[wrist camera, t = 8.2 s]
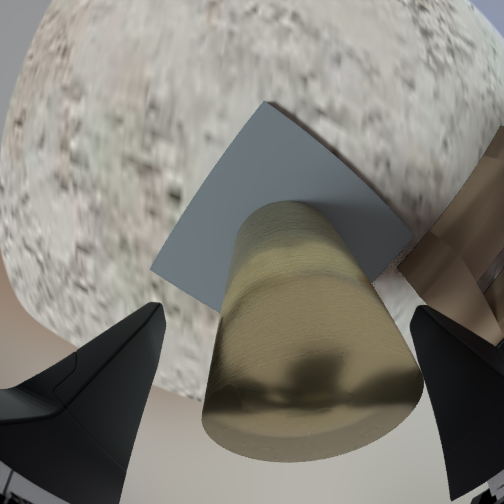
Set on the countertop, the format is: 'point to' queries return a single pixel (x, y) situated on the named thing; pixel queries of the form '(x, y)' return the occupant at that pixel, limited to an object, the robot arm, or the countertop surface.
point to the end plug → (303, 346)
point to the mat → (268, 191)
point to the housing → (466, 251)
